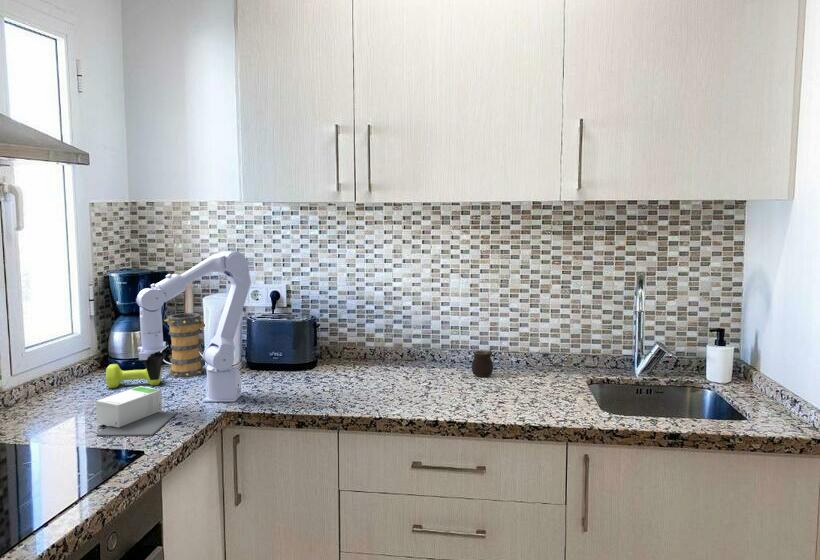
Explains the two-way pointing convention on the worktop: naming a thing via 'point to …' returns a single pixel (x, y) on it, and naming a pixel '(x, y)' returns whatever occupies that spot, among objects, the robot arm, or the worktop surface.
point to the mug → (185, 344)
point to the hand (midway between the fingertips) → (154, 379)
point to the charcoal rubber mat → (140, 426)
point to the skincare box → (128, 406)
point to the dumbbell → (126, 376)
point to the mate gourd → (482, 363)
